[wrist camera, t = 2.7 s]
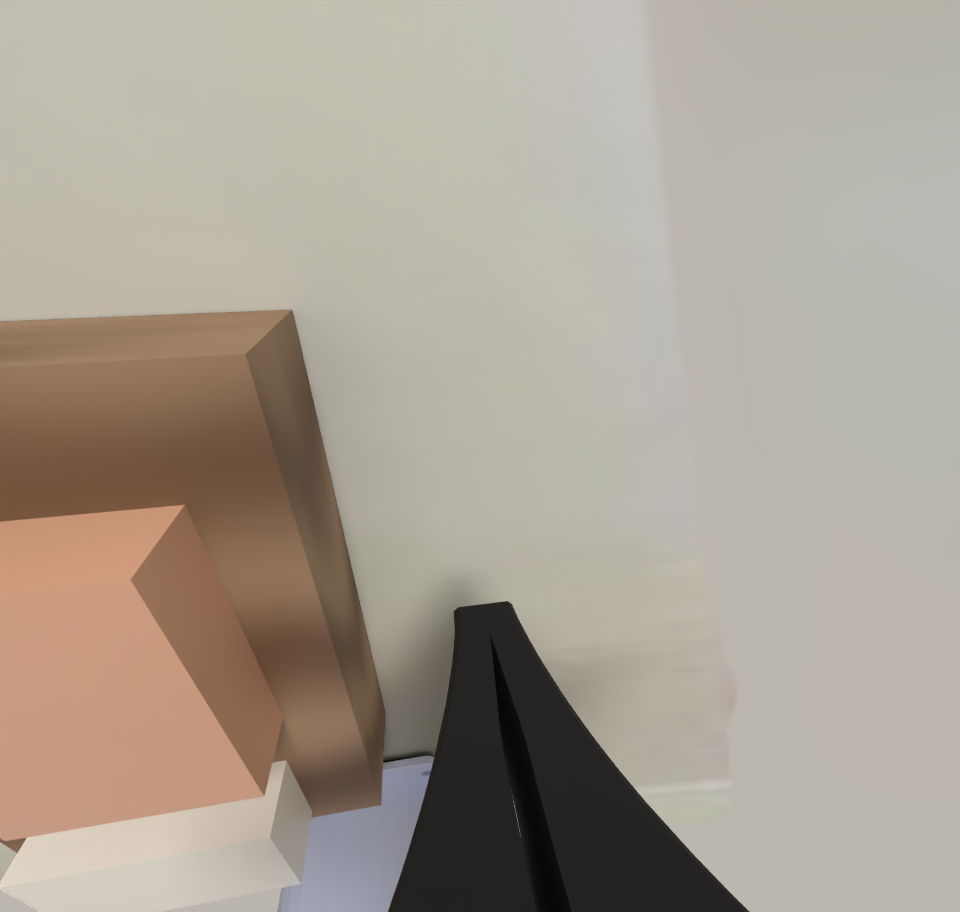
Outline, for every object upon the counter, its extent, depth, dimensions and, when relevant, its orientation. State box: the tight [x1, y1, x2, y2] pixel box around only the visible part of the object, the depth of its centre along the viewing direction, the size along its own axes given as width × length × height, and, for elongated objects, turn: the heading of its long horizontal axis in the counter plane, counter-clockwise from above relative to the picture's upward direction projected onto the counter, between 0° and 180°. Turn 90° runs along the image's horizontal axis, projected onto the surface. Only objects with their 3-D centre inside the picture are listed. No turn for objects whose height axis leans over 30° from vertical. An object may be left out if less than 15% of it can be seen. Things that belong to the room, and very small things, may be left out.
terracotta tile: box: [0, 505, 283, 841], centre depth 9 cm, size 8×6×2 cm
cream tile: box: [0, 761, 312, 912], centre depth 14 cm, size 4×7×2 cm, turn 90°
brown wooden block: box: [0, 310, 385, 853], centre depth 13 cm, size 18×12×4 cm, turn 1°
